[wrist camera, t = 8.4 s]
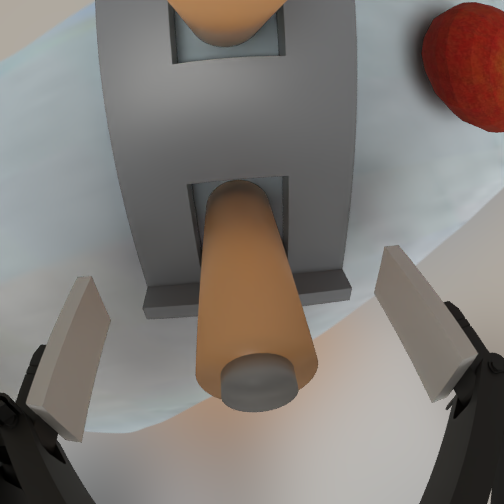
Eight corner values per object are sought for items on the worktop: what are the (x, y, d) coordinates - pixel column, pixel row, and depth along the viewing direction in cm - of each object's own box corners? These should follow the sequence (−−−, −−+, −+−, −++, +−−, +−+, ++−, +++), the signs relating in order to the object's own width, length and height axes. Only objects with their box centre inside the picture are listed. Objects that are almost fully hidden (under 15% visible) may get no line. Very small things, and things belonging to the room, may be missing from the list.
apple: (494, 62, 14) (573, 84, 7) (451, 135, 17) (529, 177, 11) (429, -14, 11) (513, -24, 5) (377, 63, 15) (462, 73, 8)
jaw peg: (202, 183, 18) (182, 364, 8) (268, 177, 18) (331, 348, 8) (210, 239, 21) (206, 424, 10) (270, 234, 21) (315, 413, 10)
